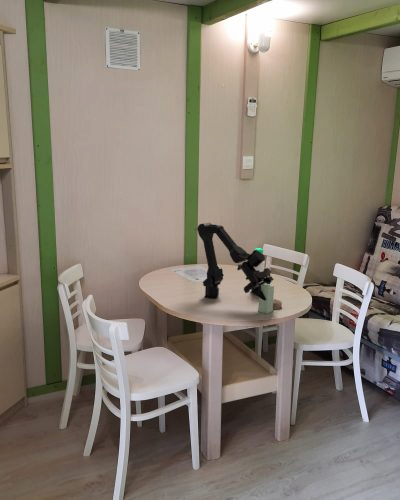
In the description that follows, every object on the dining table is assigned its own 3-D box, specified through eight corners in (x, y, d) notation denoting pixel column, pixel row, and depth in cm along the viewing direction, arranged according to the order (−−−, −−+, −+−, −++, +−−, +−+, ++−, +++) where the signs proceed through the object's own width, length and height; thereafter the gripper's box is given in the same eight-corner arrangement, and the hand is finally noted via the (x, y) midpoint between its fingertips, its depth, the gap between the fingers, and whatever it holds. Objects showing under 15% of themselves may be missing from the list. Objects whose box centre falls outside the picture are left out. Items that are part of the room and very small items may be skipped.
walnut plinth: (264, 308, 235) (264, 303, 234) (266, 303, 242) (266, 298, 242) (280, 309, 233) (281, 305, 232) (282, 304, 240) (282, 300, 240)
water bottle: (261, 291, 262) (264, 247, 257) (264, 295, 256) (266, 250, 250) (249, 291, 262) (251, 247, 257) (251, 295, 255) (253, 249, 250)
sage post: (258, 311, 230) (259, 285, 227) (263, 308, 234) (265, 283, 231) (266, 313, 227) (268, 287, 224) (272, 311, 231) (274, 285, 228)
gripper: (250, 266, 221) (268, 294, 216) (271, 260, 235) (289, 286, 230) (235, 279, 227) (253, 306, 223) (257, 272, 241) (274, 297, 237)
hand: (268, 298), depth 228 cm, fingers closed on sage post, 5 cm apart
